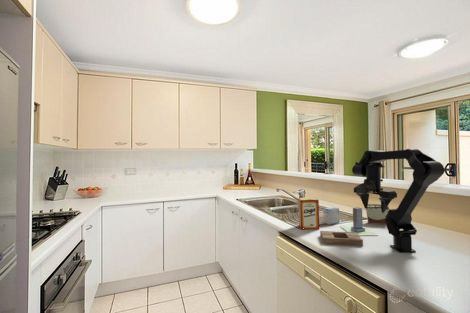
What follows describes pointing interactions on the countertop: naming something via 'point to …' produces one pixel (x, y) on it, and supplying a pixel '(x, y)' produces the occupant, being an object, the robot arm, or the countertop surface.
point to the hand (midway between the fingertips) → (374, 210)
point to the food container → (376, 214)
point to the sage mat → (364, 233)
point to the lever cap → (357, 220)
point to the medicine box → (331, 215)
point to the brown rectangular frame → (341, 238)
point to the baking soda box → (308, 213)
